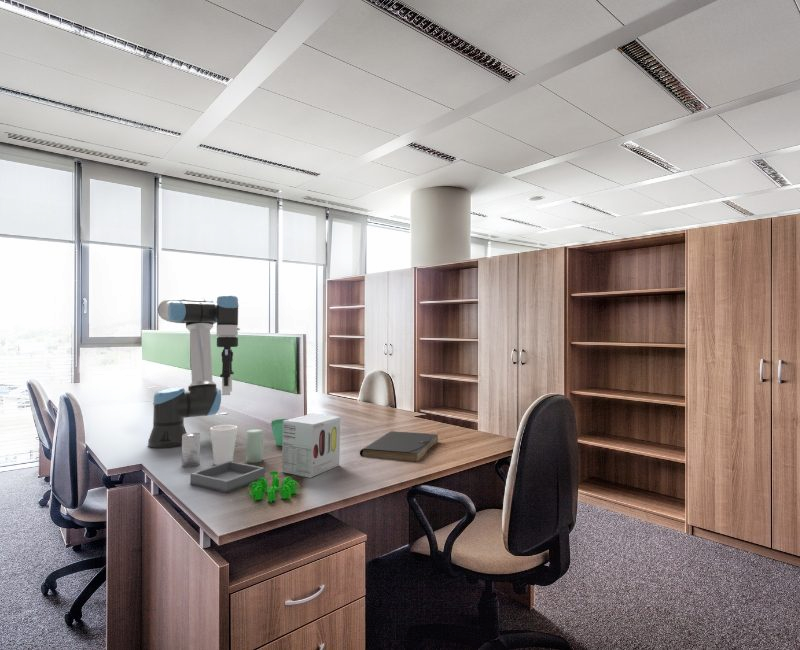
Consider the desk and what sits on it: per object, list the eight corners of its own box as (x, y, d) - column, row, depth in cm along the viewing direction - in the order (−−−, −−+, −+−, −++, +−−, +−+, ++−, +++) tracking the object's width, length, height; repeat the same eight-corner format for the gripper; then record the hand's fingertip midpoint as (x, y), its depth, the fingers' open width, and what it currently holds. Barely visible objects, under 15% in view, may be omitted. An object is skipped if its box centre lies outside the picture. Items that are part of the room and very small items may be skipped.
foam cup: (241, 462, 170) (242, 427, 170) (217, 468, 163) (218, 431, 163) (228, 457, 176) (229, 423, 176) (205, 462, 169) (205, 427, 169)
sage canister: (242, 461, 171) (243, 431, 172) (254, 457, 177) (255, 428, 177) (254, 463, 169) (255, 433, 169) (266, 459, 174) (266, 430, 174)
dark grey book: (418, 452, 173) (359, 447, 181) (418, 463, 173) (359, 458, 181) (438, 433, 205) (387, 430, 212) (438, 442, 205) (387, 439, 212)
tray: (190, 484, 145) (190, 473, 145) (230, 471, 159) (230, 461, 160) (226, 493, 138) (226, 481, 138) (264, 478, 152) (264, 467, 152)
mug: (266, 446, 193) (267, 422, 193) (276, 441, 202) (276, 418, 203) (300, 448, 190) (300, 424, 191) (308, 442, 200) (308, 419, 200)
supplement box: (311, 478, 152) (312, 424, 153) (280, 472, 158) (281, 420, 159) (341, 465, 168) (341, 416, 168) (311, 460, 174) (312, 412, 174)
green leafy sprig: (300, 486, 146) (300, 464, 146) (297, 503, 131) (297, 479, 131) (251, 488, 144) (252, 465, 144) (243, 506, 129) (243, 481, 129)
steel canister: (177, 465, 165) (178, 435, 165) (192, 461, 170) (192, 432, 170) (189, 468, 162) (189, 437, 162) (203, 464, 167) (203, 433, 167)
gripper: (236, 335, 162) (236, 396, 161) (239, 337, 186) (238, 389, 185) (214, 336, 160) (213, 397, 159) (219, 337, 183) (218, 390, 182)
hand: (227, 393), depth 172 cm, fingers open, 13 cm apart
